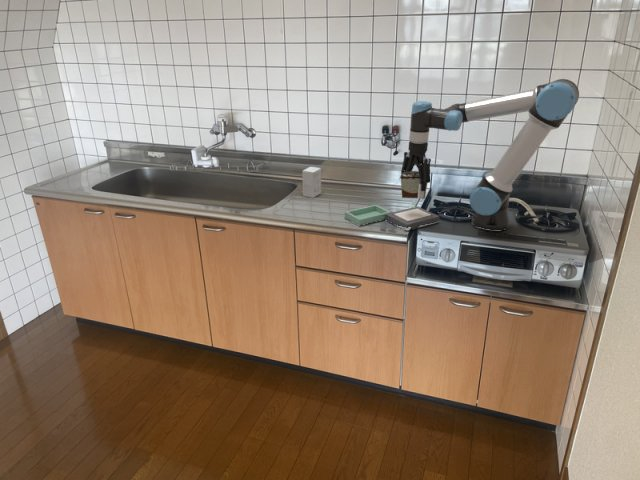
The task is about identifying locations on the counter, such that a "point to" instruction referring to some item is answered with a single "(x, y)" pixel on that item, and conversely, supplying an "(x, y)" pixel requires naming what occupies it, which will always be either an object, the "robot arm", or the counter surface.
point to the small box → (311, 182)
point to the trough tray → (366, 214)
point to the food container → (410, 184)
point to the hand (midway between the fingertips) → (413, 194)
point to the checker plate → (412, 215)
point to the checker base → (412, 224)
